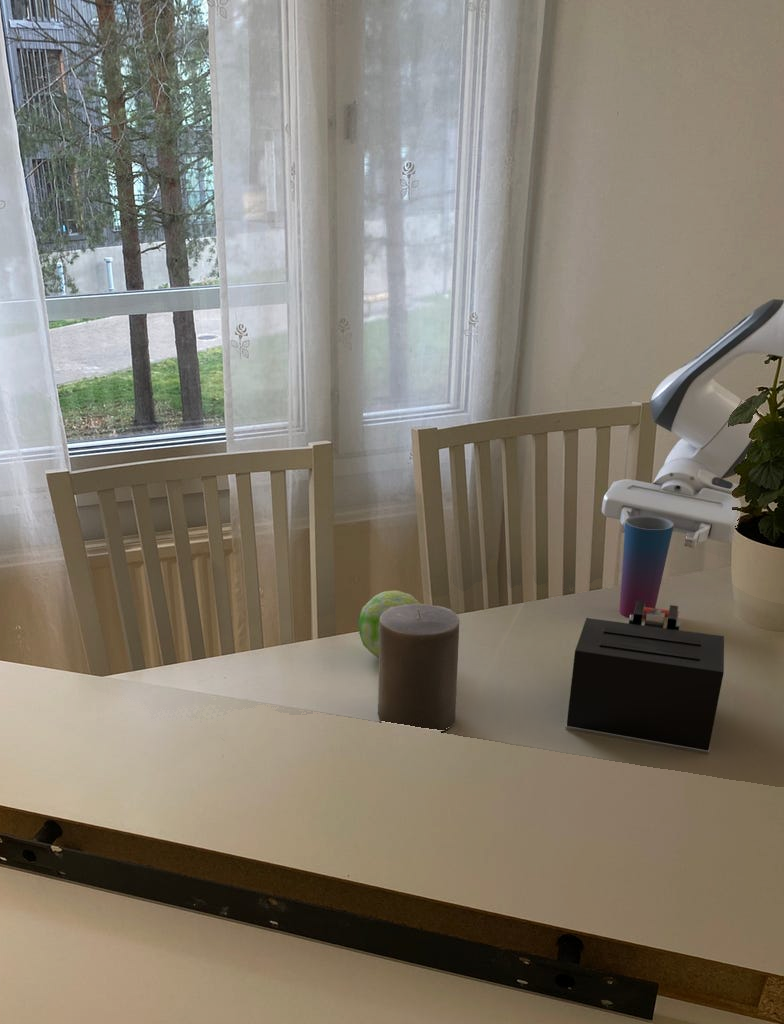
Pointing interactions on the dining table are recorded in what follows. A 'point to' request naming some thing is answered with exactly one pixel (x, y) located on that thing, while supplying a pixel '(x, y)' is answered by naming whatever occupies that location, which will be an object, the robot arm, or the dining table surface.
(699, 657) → the toaster
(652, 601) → the cup
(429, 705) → the pillar candle
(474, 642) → the dining table surface
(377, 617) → the decorative ball
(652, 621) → the lever
